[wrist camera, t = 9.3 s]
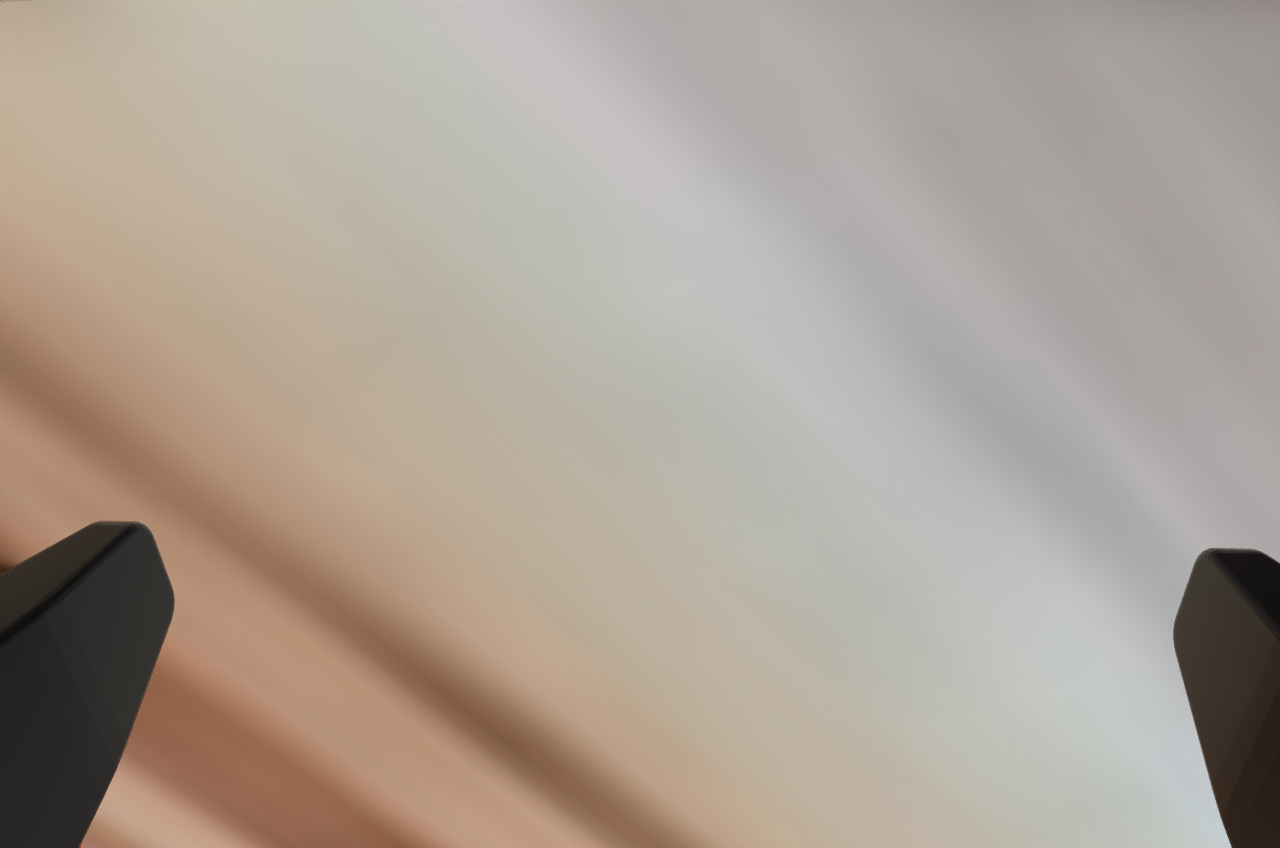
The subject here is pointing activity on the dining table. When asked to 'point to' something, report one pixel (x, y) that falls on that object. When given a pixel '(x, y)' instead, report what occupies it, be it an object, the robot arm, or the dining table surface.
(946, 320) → the dining table surface
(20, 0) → the stud base
